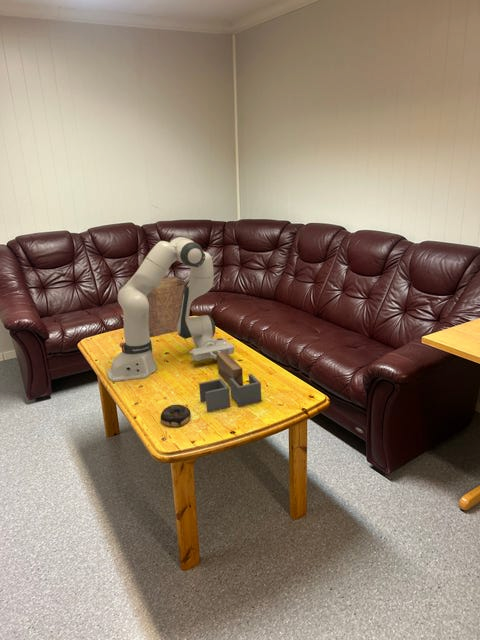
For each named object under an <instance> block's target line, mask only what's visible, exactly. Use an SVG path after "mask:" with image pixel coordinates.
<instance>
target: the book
mask: <svg viewBox="0 0 480 640" xmlns="http://www.w3.org/2000/svg"><path fill="white" fill-rule="evenodd" d="M184 288H185V279H184V278H183V277H180V276H178V275H176V276H170V277H169V276H168V277H163V279H162V280H161V282H160V283H159V285H158V286H157V287H155V288H154V289H153V290H152V291H151V292H150V293H149V294H148V295H147V296H146V297H147V299H148V302H149V318H148V326H149V335H150V338H154V337H159V336H162V335H168V334H171V333H175V332H177V322H178V319H179V313H180V306H181V299H182V294H183V290H184Z"/></svg>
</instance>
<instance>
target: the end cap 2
mask: <svg viewBox="0 0 480 640" xmlns="http://www.w3.org/2000/svg"><path fill="white" fill-rule="evenodd" d="M229 392H230V398H231V399H232V400H233V401H234V402H235V404H236V405H238V407H244V406H247V405H251V404H256V403H260V402H262V383H261V382H260V380H258V378H257V377H255V376H254V375H253V374H252V373H249V374H248V383H247V384H243V385H242V386H240V385H239V384H238V383H237V382H236V381H235V380H234V379H233V378H230V386H229Z"/></svg>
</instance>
